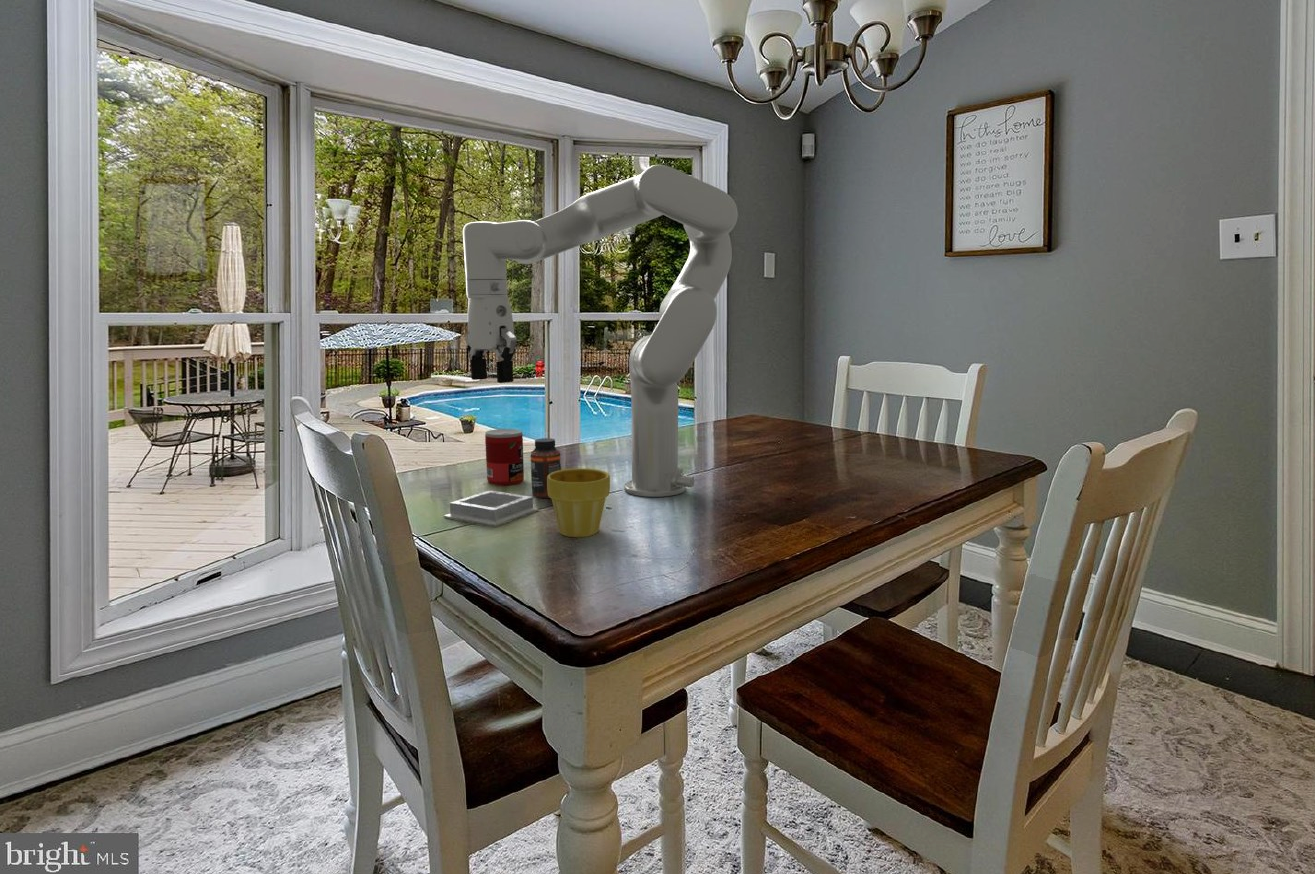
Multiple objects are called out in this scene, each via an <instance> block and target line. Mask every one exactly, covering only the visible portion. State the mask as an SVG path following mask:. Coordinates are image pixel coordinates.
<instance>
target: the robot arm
mask: <svg viewBox="0 0 1315 874" xmlns="http://www.w3.org/2000/svg"><path fill="white" fill-rule="evenodd" d="M738 213H739V212H738V207H737V204H736V202H735V200H734V199H733V198H732V197H731V195H730V194H728V193H727V192H726V191H724V190H722V189H721V188H718V187H716V186H714V185H712V184H710V183H708V182H704V181H702V180H700V179H698V178H696V177H693V176H691V175H689V174H687V173H685V172H682V171H681V170H678V169H676V168H674V167H671V166H669V165H665V164H653V165H650V166H648V167H647V168H645V169H644V170H643V171H642V172H641V173H640V174H637V175H635V176H633V177H630V178H628V179H623V181H619V182H617V183H614V184H612V185H609V186H605V187H603V188H600V189H597V190H594V191H592V192H589V193H587V194H585V195H582V196H581V197H580V198H578V199H576V200H575V201H573V202H572V203H571V204H570V205H568V206H566V207H565V208H563V209H561V210H559V211H556V212H554V213H552V214H550V215H547V216H545V217H542V218H539V219H537V220H534V221H532V220H530V219H529V220H528V219H518V220H513V221H511V220H510V221H504V222H495V221H472V222H469V223H468V222H467V223H466V224H465V225H464V226H463V229H462V238H463V239H462V241H463V255H464V256H463V257H464V273H465V286H466V287H465V288H466V289H465V290H466V299H467V300H468V302H467V334H466V335H465V336H464V341H465V343H466V350H467V352H468V359H469V360H470V361H469V362H470V363H469V364H470V375H471V377H470V378H471V380H472V381H477V380H478V381H480V380H486V379H487V378H488V368H487V367H488V366H487V365H488V364H487V358H485V355H486V353H487V351H488V352H493V353H494V354H495V356H496V358H497V361H496V362H495V365H496V367H495V368H496V381H497V383H498V384H504V383H513V382H514V364H513V363H514V362H513V361H514V360H515V356H514V355H515V353H516V345H517V341H518V338H517V337H516V336H515V328H514V320H513V313H512V308H511V307H512V306H511V302H510V298H509V296H508V281H507V278H508V277H507V262H506V261H507V260H508V261H509V260H510V261H512V260H513V261H515V262H516V263H519V264H521V265H531V264H534V263H537V262H540V261H542V260H545V259H548V258H551V257H553V256H556V255H558V254H561V253H564V252H566V251H569V250H571V249H574V248H576V247H580V246H583V245H586V244H590V243H593V242H596V241H599V240H601V239H603V238H606V237H609V236H611V235H614V234H617V233H619V232H621V231H624V230H627V229H630V228H632V227H635V226H638V225H640V224H644V223H646V222H649V221H652V220H654V219H656V218H659V217H662V216H665V217H667V218H669V219H670V220H673V221H676V222H678V223H679V224H682V225H683V228H684V230H685V233H686V235H687V237H688V240H689V246H690V248H689V254H688V256H687V260H686V262H685V263H684V265H683V267H682V269H681V270H680V273H679V274H678V276H677V278H676V279H675V281H674V283H673V285H672V286H671V288H670V289H669V291H668V292H667V294H666V295H665V296H664V298H663V300H662V301H661V304H660V307H659V311H658V312H659V316H658V317H659V321H658V322H657V324H656V326H655V327H654V330H653V332H651V334H650V335H646V336H643V337H641V338H640V339H638V340H637V341H636V342H635V344H634V345H633V346H632V348H631V351H630V354H629V359H628V361H629V362H628V368H629V369H628V370H629V380H630V381H629V382H630V397H631V398H630V401H631V402H630V405H631V406H630V407H631V408H630V411H631V412H630V413H631V421H630V422H631V427H630V428H631V429H630V430H631V480H629V481H626V482H625V483H624V485H623V487H624V488H623V489H624V491H625V492H626V493H627V494H629V495H634V496H638V497H650V498H655V497H656V498H658V497H659V498H661V497H662V498H663V497H670V496H672V497H673V496H675V495H676V496H678V495H679V494H682V493H684V492H685V491H686V487H687V488H693V487H694V486H695V477H694V476H693V475H684V473H683V471H684V469H683V468H682V467H679V389H678V387H679V386H678V383H679V382H680V381H681V380H682V379H683V378H684V377H685V376H686V374H687V373H688V371H689V370H690V368H691V366H692V364H693V363H694V362H695V359H696V358H697V356H698V354H699V352H700V351H701V349H702V348H703V346H704V344H705V342H706V341H707V339H708V338H709V336H710V335H711V333H712V330H713V329H714V326H715V323H716V319H717V317H718V316H717V315H718V309H717V304H716V301H715V299H716V298H717V295H718V294H719V291H720V290H721V288H722V286H723V284H724V282H725V280H726V278H727V276H728V274H729V271H730V269H731V264H732V258H733V254H732V253H733V252H732V250H733V249H732V242H731V237H730V232H732V231H733V229H734V228H735V226H736V224H737V221H738V219H739V218H738V216H739V214H738Z"/></svg>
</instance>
